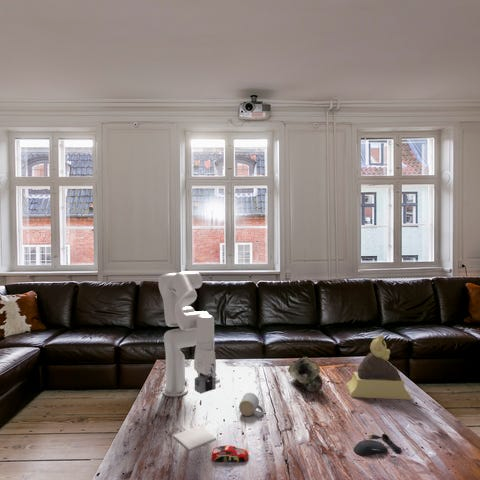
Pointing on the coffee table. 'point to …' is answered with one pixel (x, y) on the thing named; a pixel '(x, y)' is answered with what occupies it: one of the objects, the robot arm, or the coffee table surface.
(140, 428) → the coffee table surface
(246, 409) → the ceramic mug
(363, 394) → the yellow brown mound sculpture
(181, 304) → the robot arm
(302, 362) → the hollow geode rock
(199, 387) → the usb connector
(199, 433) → the felt coaster
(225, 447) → the race car
